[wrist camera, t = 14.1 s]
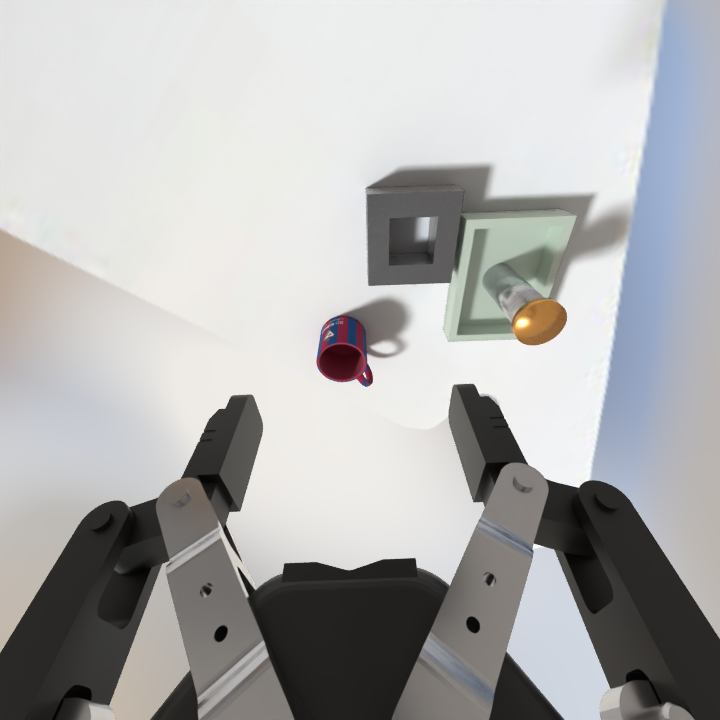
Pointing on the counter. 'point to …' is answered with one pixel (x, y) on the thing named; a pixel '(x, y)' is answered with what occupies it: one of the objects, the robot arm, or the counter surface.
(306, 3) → the counter surface
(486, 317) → the tray
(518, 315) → the pin
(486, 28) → the counter surface
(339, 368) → the mug
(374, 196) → the block
